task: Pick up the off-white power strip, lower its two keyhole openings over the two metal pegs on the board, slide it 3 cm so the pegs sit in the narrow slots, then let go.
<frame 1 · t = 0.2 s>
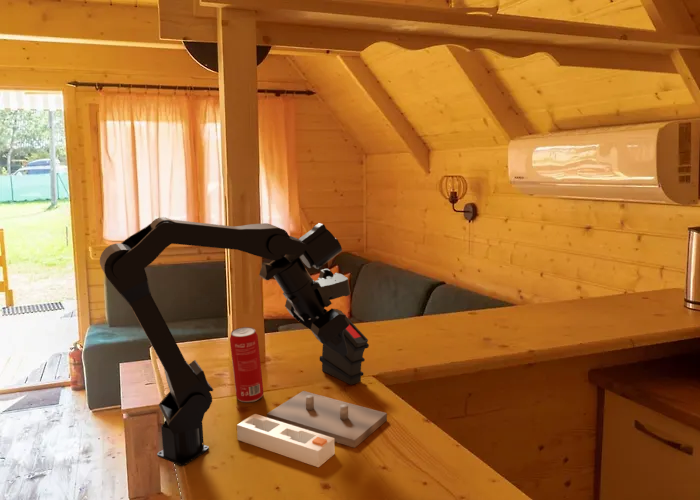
hand: (335, 346, 119), 14 cm above the worktop, tool tilted 30°, fingers open, 9 cm apart
beverage can: (248, 398, 130), on the worktop
peg board: (326, 420, 119), on the worktop
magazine: (344, 378, 139), on the worktop
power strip: (285, 446, 110), on the worktop
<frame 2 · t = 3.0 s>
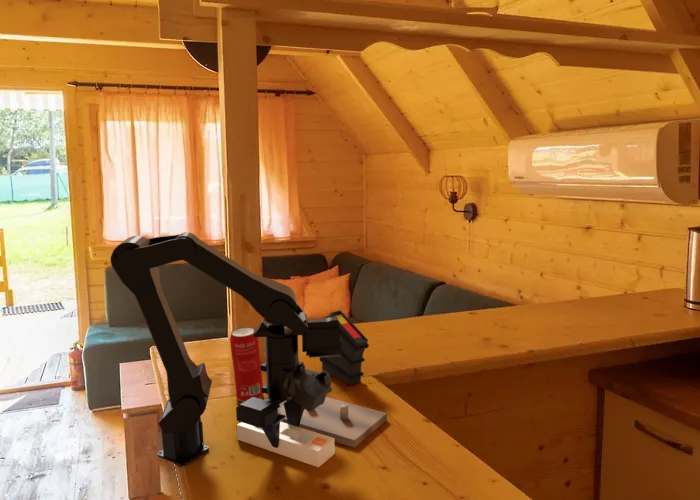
hand: (284, 440, 110), 1 cm above the worktop, tool pointing down, fingers closed on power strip, 5 cm apart
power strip: (285, 446, 110), on the worktop, touching gripper
everything else where it was.
when the fingers open (3 cm above the worktop, at t = 8.1 s): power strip stays where it is, resting on peg board.
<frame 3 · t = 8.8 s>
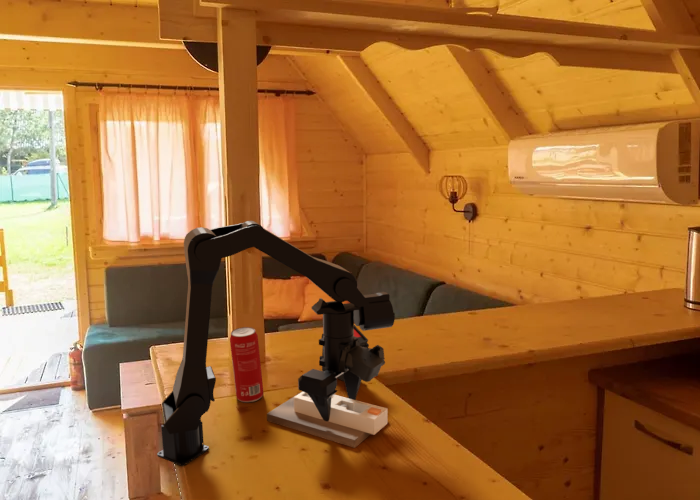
hand: (339, 410, 117), 3 cm above the worktop, tool pointing down, fingers open, 9 cm apart
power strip: (339, 417, 117), point 1 cm above the worktop, touching peg board
everything else where it was.
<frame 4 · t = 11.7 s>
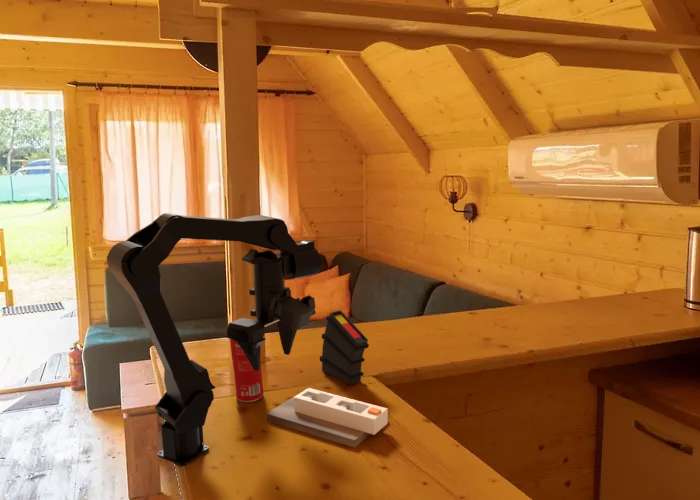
hand: (272, 362, 117), 12 cm above the worktop, tool pointing down, fingers open, 9 cm apart
nothing on the worktop moved.
at the end: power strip 0.1 cm from the target spot on the peg board, point 1.5 cm above the peg board's base; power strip tilted 0°; the gripper is holding nothing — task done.
